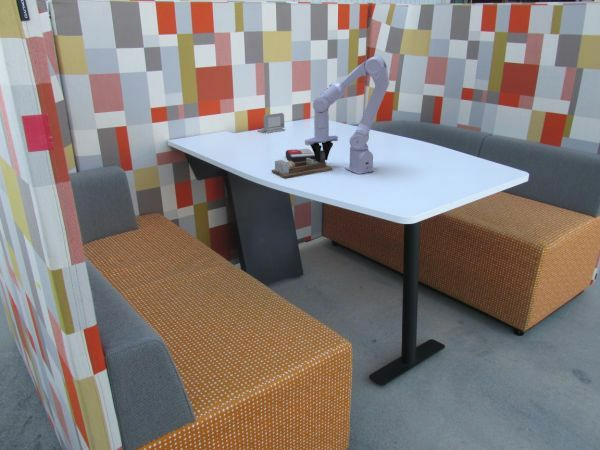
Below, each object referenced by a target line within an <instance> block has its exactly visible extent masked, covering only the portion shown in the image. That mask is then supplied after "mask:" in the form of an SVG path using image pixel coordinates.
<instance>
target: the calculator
mask: <svg viewBox="0 0 600 450" xmlns="http://www.w3.org/2000/svg"><path fill="white" fill-rule="evenodd" d="M285 158H286V159H287V162H288V161H292V162H294V163H296V162H302V161H306V158H310V159H313V160H314V159H315V155H314V152H313V150H311V149H309V148H299V149H287V150H285Z"/></svg>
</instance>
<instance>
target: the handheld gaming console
mask: <svg viewBox="0 0 600 450" xmlns="http://www.w3.org/2000/svg"><path fill="white" fill-rule="evenodd" d="M285 131H286V129H285V114H284V113H283V112H277V113H271V114H270V113H269V114H265V115H263V128H261V129H257V132H258V133H261V134H264V133H265V135H266V133H267V134H272V133H273V132H274V133H278V132H279V133H280V132H285Z"/></svg>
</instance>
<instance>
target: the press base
mask: <svg viewBox="0 0 600 450" xmlns="http://www.w3.org/2000/svg"><path fill="white" fill-rule="evenodd" d="M314 161H316V159H314ZM325 162H326V161H325ZM325 162H322V163H316V164H311V165H306V161H302V162H296V163H295V167H293V168H290V171H289V174H286V175H283V174H280V173H278V172H276V171H275V168H274V169H271V174H274V175H275V176H278V177H281V178H282V179H284V180H285V179H286V180H287V179H292V178H296V177H304V176H307V175H313V174H318V173H324V172H331V171H333V167H332V166H328V165H327V166H326V163H325Z"/></svg>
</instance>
